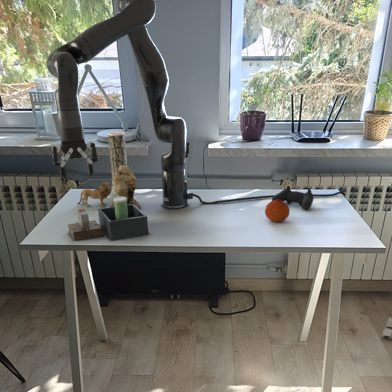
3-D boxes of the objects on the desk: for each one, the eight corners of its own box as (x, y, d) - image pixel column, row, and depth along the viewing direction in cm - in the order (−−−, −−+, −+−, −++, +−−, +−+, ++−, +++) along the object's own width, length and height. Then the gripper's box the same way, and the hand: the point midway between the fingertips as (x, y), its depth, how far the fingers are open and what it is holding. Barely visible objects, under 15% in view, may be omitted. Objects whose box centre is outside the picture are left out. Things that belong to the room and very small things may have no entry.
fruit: (293, 221, 188) (295, 200, 183) (274, 226, 184) (276, 204, 179) (278, 215, 194) (280, 194, 190) (260, 219, 190) (261, 198, 186)
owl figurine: (115, 202, 210) (110, 159, 200) (142, 202, 209) (139, 159, 200) (105, 216, 195) (100, 171, 185) (135, 216, 194) (131, 171, 185)
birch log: (126, 196, 216) (121, 134, 203) (111, 195, 218) (105, 134, 204) (131, 191, 222) (126, 131, 208) (116, 191, 223) (110, 130, 209)
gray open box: (134, 220, 190) (133, 203, 187) (148, 234, 178) (147, 216, 175) (99, 226, 186) (97, 208, 182) (111, 240, 174) (109, 221, 170)
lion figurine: (113, 202, 209) (111, 180, 204) (112, 206, 205) (110, 184, 200) (77, 204, 208) (74, 182, 203) (76, 208, 204) (73, 185, 199)
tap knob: (89, 227, 176) (87, 213, 173) (82, 228, 175) (80, 214, 172) (86, 223, 180) (84, 208, 177) (79, 224, 179) (77, 209, 176)
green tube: (127, 225, 184) (124, 195, 178) (131, 229, 181) (128, 199, 174) (115, 227, 183) (112, 197, 176) (118, 231, 179) (115, 201, 173)
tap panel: (95, 227, 184) (94, 219, 183) (102, 236, 177) (101, 227, 175) (68, 232, 181) (67, 223, 179) (74, 241, 174) (73, 232, 172)
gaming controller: (309, 216, 200) (319, 197, 203) (308, 206, 195) (318, 187, 198) (271, 209, 207) (281, 191, 210) (269, 199, 203) (279, 181, 206)
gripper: (49, 128, 154) (58, 182, 163) (95, 124, 158) (101, 177, 167) (45, 124, 159) (54, 176, 168) (89, 120, 164) (95, 171, 173)
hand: (77, 176), depth 168 cm, fingers open, 8 cm apart
